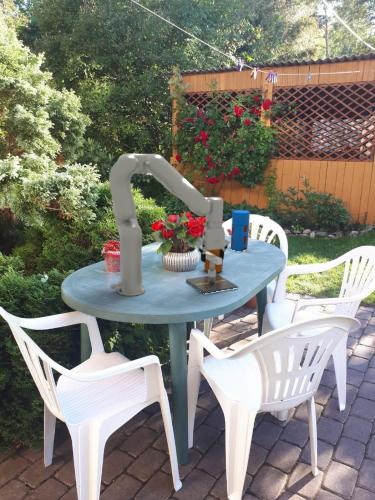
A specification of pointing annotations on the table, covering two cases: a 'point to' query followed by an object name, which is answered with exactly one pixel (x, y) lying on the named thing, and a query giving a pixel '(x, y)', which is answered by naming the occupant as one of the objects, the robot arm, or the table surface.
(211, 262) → the t handle
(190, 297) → the table surface
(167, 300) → the table surface
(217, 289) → the post base
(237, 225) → the thermos
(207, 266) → the wine bottle
